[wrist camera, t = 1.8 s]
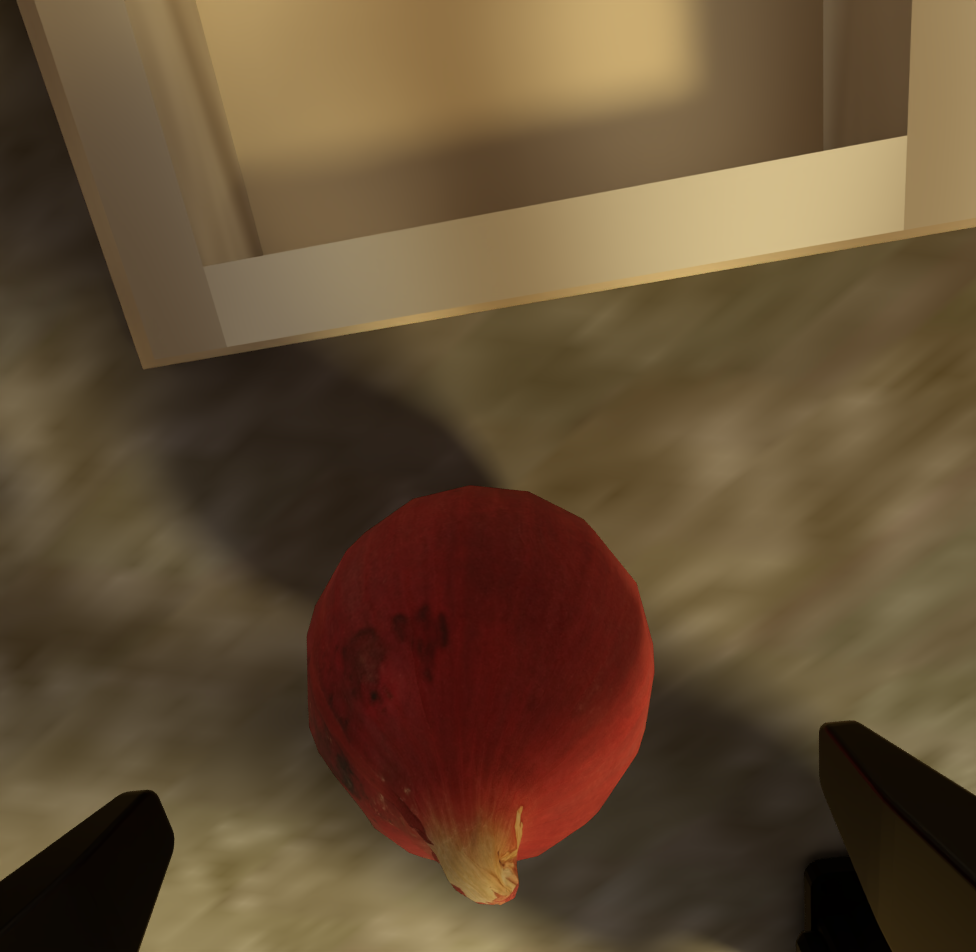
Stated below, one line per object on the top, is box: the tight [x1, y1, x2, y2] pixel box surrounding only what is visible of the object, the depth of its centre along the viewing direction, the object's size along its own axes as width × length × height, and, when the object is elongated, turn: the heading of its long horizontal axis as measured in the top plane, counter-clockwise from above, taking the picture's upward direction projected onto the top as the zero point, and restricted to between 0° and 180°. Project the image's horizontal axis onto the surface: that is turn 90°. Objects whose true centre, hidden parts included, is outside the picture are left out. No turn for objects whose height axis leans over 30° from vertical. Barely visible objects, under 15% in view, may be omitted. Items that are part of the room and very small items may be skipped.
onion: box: [307, 485, 654, 905], centre depth 11 cm, size 6×6×8 cm
